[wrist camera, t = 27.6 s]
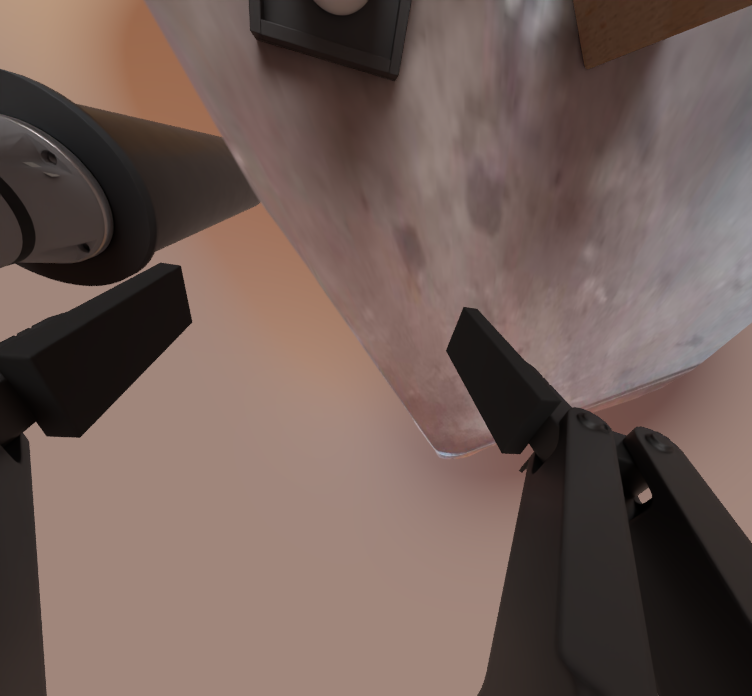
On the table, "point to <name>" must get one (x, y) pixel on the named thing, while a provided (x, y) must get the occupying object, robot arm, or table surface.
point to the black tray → (336, 32)
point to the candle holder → (341, 6)
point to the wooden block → (640, 23)
